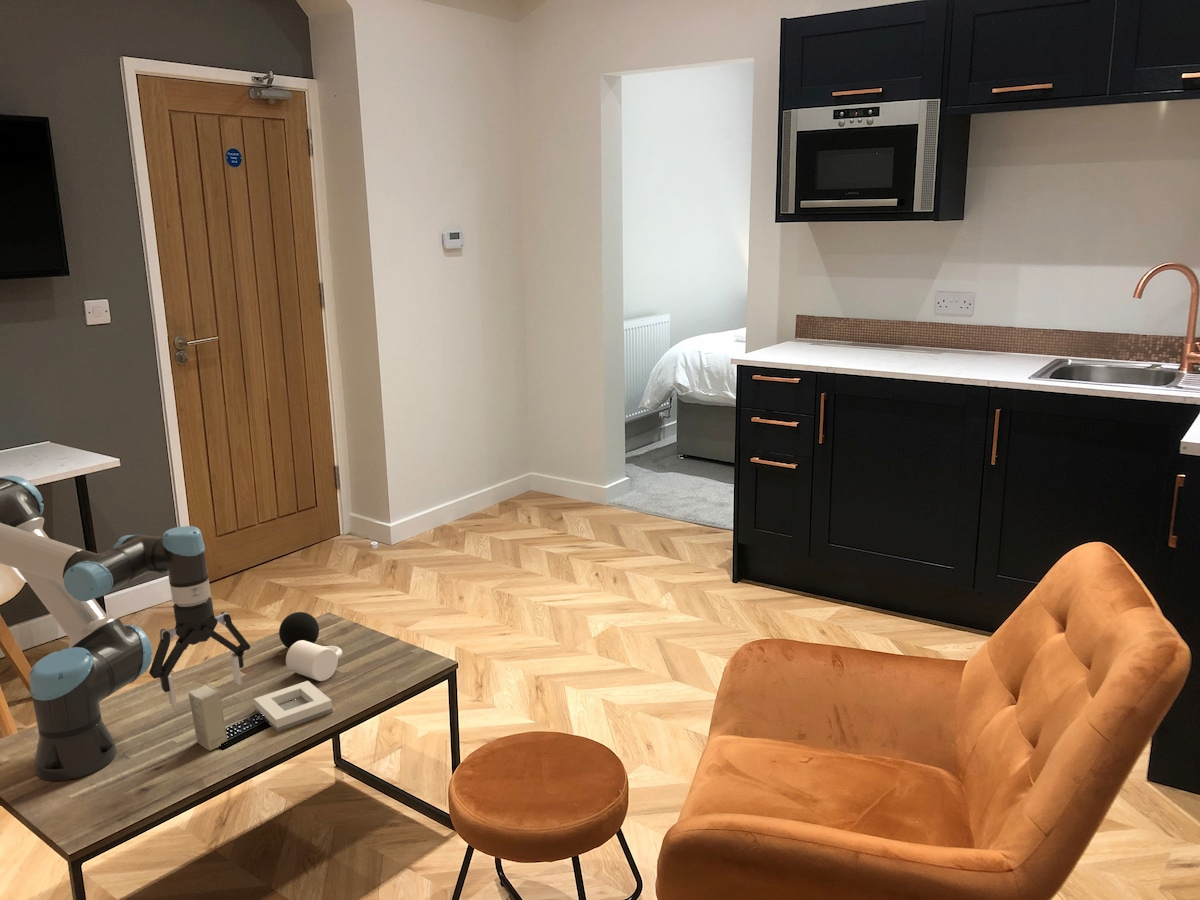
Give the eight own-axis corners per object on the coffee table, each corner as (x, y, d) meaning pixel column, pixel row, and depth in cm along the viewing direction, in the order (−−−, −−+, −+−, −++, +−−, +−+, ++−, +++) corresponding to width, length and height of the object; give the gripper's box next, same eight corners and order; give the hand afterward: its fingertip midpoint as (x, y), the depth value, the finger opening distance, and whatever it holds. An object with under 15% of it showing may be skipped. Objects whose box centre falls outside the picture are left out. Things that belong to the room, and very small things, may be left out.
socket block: (277, 732, 215) (276, 719, 214) (255, 710, 224) (254, 698, 224) (332, 712, 223) (331, 700, 222) (309, 692, 232) (307, 680, 232)
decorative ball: (302, 637, 263) (298, 603, 260) (328, 645, 258) (325, 610, 255) (273, 652, 254) (268, 616, 252) (299, 660, 249) (295, 624, 247)
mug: (314, 686, 235) (310, 656, 233) (287, 676, 241) (283, 647, 239) (351, 667, 245) (349, 637, 243) (325, 658, 250) (322, 629, 248)
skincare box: (228, 743, 211) (221, 692, 208) (208, 752, 207) (201, 700, 204) (214, 733, 215) (207, 683, 212) (194, 742, 211) (187, 691, 209)
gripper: (133, 622, 193) (150, 719, 198) (257, 588, 208) (269, 679, 213) (123, 612, 198) (139, 706, 203) (244, 579, 214) (256, 668, 219)
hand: (206, 693), depth 208 cm, fingers open, 13 cm apart
